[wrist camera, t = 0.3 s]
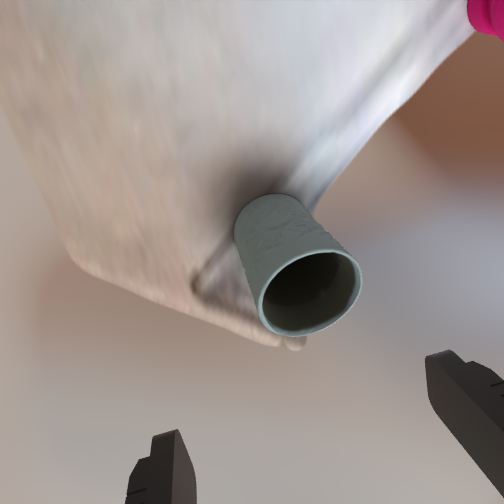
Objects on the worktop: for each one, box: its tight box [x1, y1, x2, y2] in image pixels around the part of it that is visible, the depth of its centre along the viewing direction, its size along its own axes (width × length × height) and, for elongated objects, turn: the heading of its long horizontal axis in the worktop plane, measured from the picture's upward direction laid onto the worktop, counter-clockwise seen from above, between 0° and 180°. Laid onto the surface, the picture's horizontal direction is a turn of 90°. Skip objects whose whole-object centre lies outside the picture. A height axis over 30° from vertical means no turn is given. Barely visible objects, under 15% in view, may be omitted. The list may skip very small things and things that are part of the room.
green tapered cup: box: [234, 194, 363, 337], centre depth 40 cm, size 10×10×12 cm
